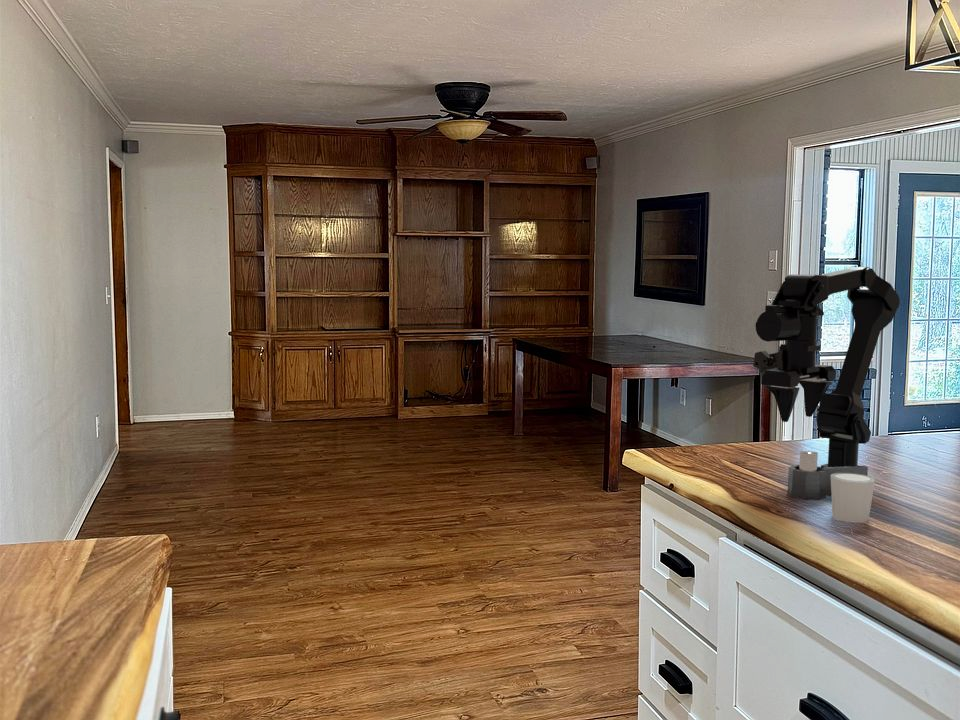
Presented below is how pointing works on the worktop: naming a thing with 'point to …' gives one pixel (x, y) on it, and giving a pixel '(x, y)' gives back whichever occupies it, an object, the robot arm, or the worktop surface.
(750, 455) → the worktop surface
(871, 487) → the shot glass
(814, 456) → the hinge pin
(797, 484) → the grey ring with handle
